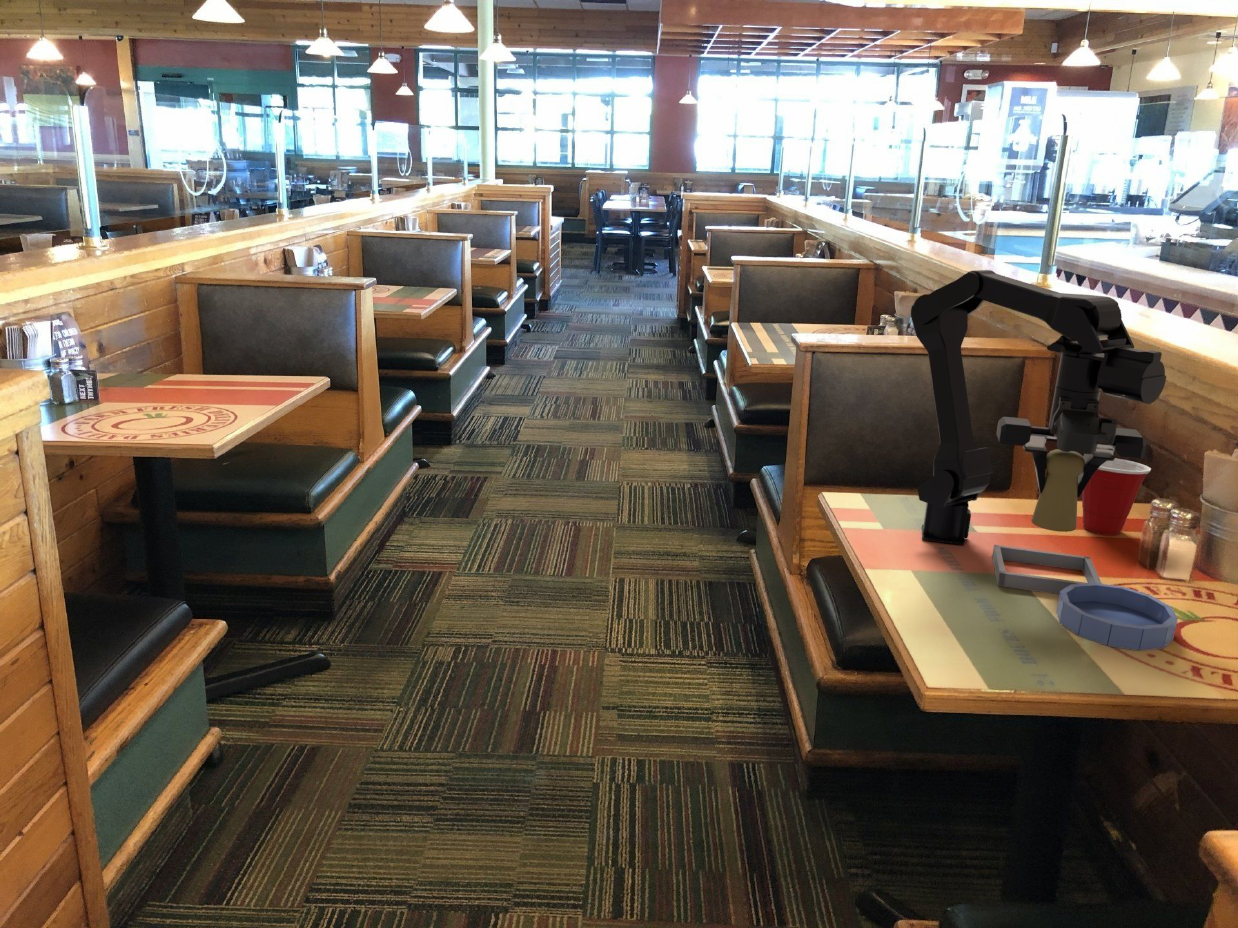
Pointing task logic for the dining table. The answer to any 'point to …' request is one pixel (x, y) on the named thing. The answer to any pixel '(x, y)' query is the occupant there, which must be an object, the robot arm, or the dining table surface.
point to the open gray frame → (1041, 559)
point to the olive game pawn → (1059, 492)
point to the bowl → (1116, 616)
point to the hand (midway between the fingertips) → (1058, 494)
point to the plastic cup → (1111, 495)
